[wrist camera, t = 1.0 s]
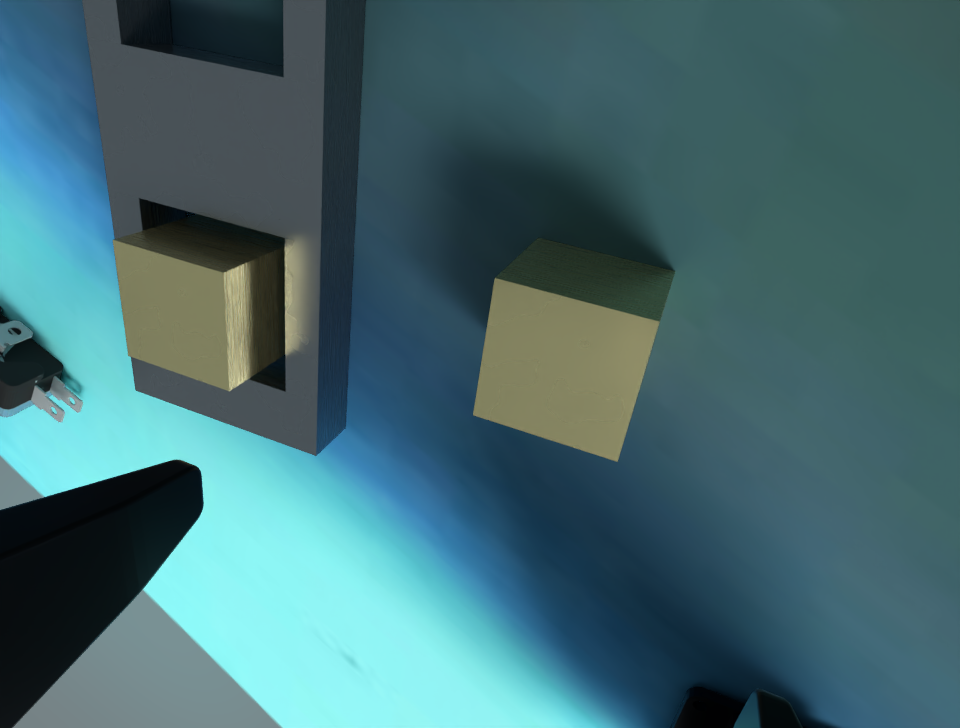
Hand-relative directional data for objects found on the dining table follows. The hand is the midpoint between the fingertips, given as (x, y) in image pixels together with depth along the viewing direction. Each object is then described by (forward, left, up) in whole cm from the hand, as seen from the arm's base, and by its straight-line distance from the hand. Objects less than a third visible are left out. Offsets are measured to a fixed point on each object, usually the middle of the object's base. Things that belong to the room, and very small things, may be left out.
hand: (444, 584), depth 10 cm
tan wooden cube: (-2, +12, -12) cm, 17 cm away
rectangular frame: (+3, +12, -11) cm, 17 cm away
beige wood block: (0, 0, -12) cm, 12 cm away
